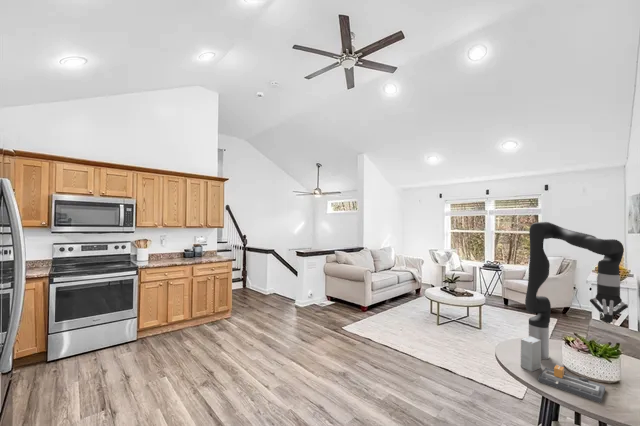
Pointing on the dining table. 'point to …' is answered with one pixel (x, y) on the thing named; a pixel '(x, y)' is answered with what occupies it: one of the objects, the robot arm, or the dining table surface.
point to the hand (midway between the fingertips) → (608, 322)
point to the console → (573, 385)
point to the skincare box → (531, 353)
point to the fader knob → (559, 371)
